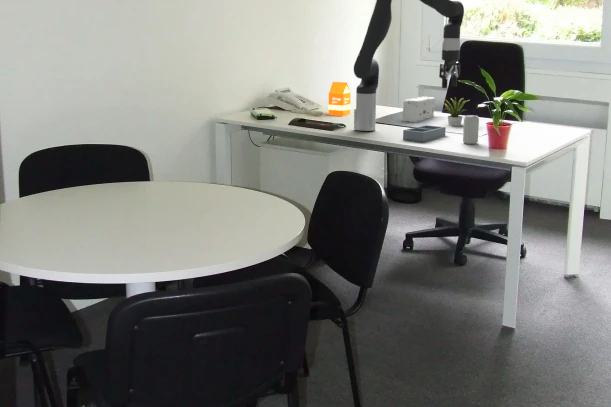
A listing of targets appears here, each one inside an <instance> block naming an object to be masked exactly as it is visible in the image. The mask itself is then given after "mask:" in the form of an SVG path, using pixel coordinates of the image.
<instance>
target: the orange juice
mask: <svg viewBox="0 0 611 407" xmlns="http://www.w3.org/2000/svg"><path fill="white" fill-rule="evenodd" d="M327 110H328V115H329V116H337V117H338V116H339V117H345V116H348V115H351V90H350V88H349V85H348V82H342V81H341V82H340V81H339V82H338V81H332V83H331V86H330V89H329V92H328V108H327Z"/></svg>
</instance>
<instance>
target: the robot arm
mask: <svg viewBox="0 0 611 407" xmlns="http://www.w3.org/2000/svg"><path fill="white" fill-rule="evenodd" d="M375 1H376V2H375V5H374V6H373V11H372V14H371V17H370V20H369V23H368V25H367V30H366V33H365V36H364V39H363V42H362V45H361V48H360V50H359V53H358V55H357V57H356V59H355V61H354V64H353V73H354V76H355V77H356V78H357V79H361V81H360V83H359V84H358V85H357V87H356V93H355V94H356V95H355V96H356V97H355V100H356V101H355V109H354V110H353V114H354V115H353V130H356V131H363V132H369V131H370V132H371V131H372V132H373V131H375V130H376V122H377V120H376V117H377V116H376V114H377V113H376V112H377V90H378V87H379V80H380V79H379V76H380V66H379V63H378V61H377V60H376V58H374V56H375V54H376V51H377V49H378V48H379V47H380V45H382V43H383V41H384V40H385V38H386V37H387V35H388V33H389V30H390V27H391V23H392V18H393V17H392V13H393V12H392V1H393V0H375ZM419 1H420V2H421V3H423V4H425V5H426V6H428V7H429V8H432V9H434V10H435V11H436V12H438V13H439V14H440V15H441V16H442V17H444V18H448V19H447V23H446V24H445V25H444V26H443V35H442V44H441V61H444V63H443V62H442V63H440V64H439V73H438V74H439V78H440V79H442V80H441V87H442V89H447V88H448V78H449V76H450V75H451V87H454V88H455V87H457V86H458V78H459V77H460V76H461V62H460V61H459V60H460V59H461V58H460V56H461V26H462V24H463V19H464V16H465V15H464V14H465V6H464V5H463V3H462V2H461V1H459V0H419Z"/></svg>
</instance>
